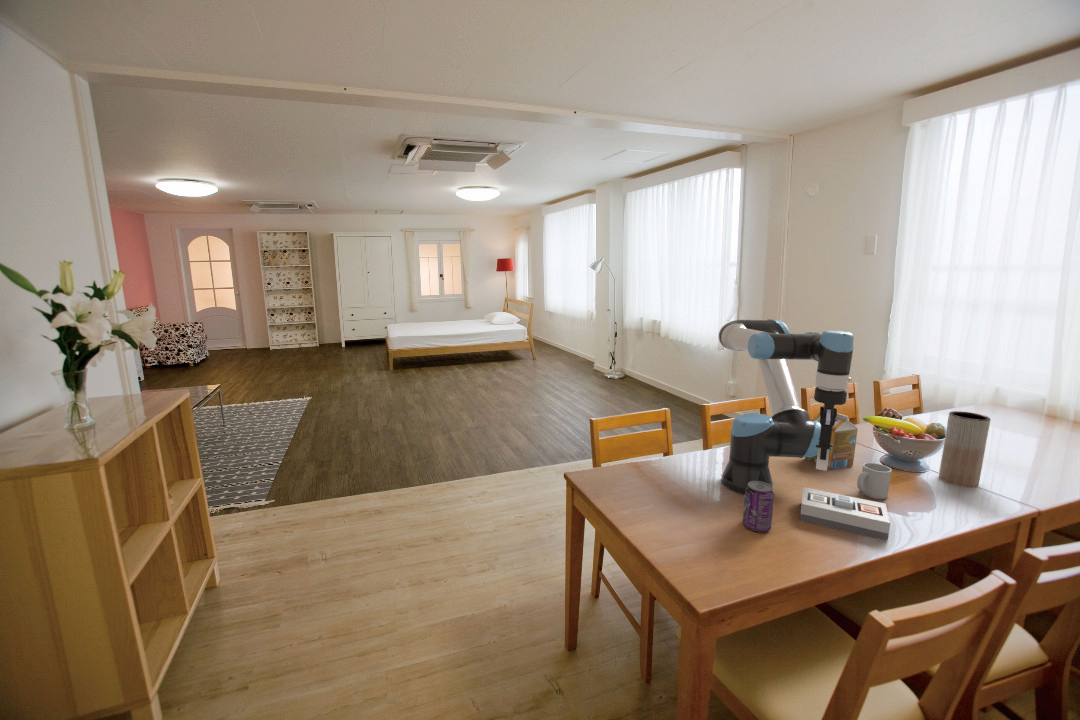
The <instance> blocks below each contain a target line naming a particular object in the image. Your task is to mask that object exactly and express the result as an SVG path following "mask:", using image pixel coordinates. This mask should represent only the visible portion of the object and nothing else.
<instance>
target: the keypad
mask: <svg viewBox="0 0 1080 720" xmlns="http://www.w3.org/2000/svg"><path fill="white" fill-rule="evenodd" d="M811 494H814V495H819V496H824V497H827V504H823V503H819V502H814V501H810V497H811ZM836 494H837V495H842V496H847V497H852V498H853V509H847V508H842V507H837V506H835V505H834V504H835V495H836ZM801 497H802V499H801V507H800V516H799V521H802V522H806V523H810V524H815V525H818V526H823V527H828V528H831V529H832V528H833V529H837V530H840V531H844V532H849V533H851V534H852V533H854V534H857V535H861V536H862V535H863V536H865V537H869V538H873V539H878V538H879V539H878V540H882V539H883V541H887V542H888V540H889V534H890V528H891V527H890V526H891V519H890V517H889V516H890V515H889V511H888V509H887V504H886V503H883V502H880V501H879V502H878V501H875V500H874V501H873V500H870V499H864V498H859V497H854V496H851V495H849V496H848V495H844V494H841V493H840V494H839V493H834V492H828V491H825V490H820V489H816V488H815V489H814V488H809V487H803V489H802V496H801ZM860 504H862V505H867V506H872V507H877V508H878V510H879V515H875V514H870V513H866V512H861V511H860Z"/></svg>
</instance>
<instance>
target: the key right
mask: <svg viewBox="0 0 1080 720" xmlns="http://www.w3.org/2000/svg"><path fill="white" fill-rule="evenodd" d="M860 511H861V512H866V513H870V514H875V515H879V510H878V508H877V507H872V506H867V505H862V504H860Z"/></svg>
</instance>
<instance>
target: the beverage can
mask: <svg viewBox="0 0 1080 720" xmlns="http://www.w3.org/2000/svg"><path fill="white" fill-rule="evenodd" d="M773 489H774V486H773V487H772V486H771V485H770V484H768V483H765V482H761V481H751V482H748V486H747V488H746V489H745V494H744V501H743V511H742V512H743V514H742V524H743V526H745V527H746V528H748V529H750V530H752V531H754V532H759V533H760V532H768V531H770V530H771V529H772V523H773V522H772V521H773V513H774V503H775V502H774V500H775V492H774V490H773Z"/></svg>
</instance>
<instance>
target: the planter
mask: <svg viewBox="0 0 1080 720" xmlns="http://www.w3.org/2000/svg"><path fill="white" fill-rule="evenodd" d="M990 424H991V418H990V417H989V416H988V415H985V414H981V413H976V412H971V411H963V410H962V411H961V410H953V411H949V413H948V419H947V423H946V429H945V430H946V431H945V434H944V435H945V436H944V443H943V449H942V453H941V454H942V455H941V461H940V466H939V473H938V477H939V479H941V480H942V481H944V482H946V483H949V484H952V485H955V486H959V487H966V488H976V487H978V486H979V485H980V480H981V475H982V469H983V463H984V457H985V453H986V446H987V441H988V436H989V430H990Z"/></svg>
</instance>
